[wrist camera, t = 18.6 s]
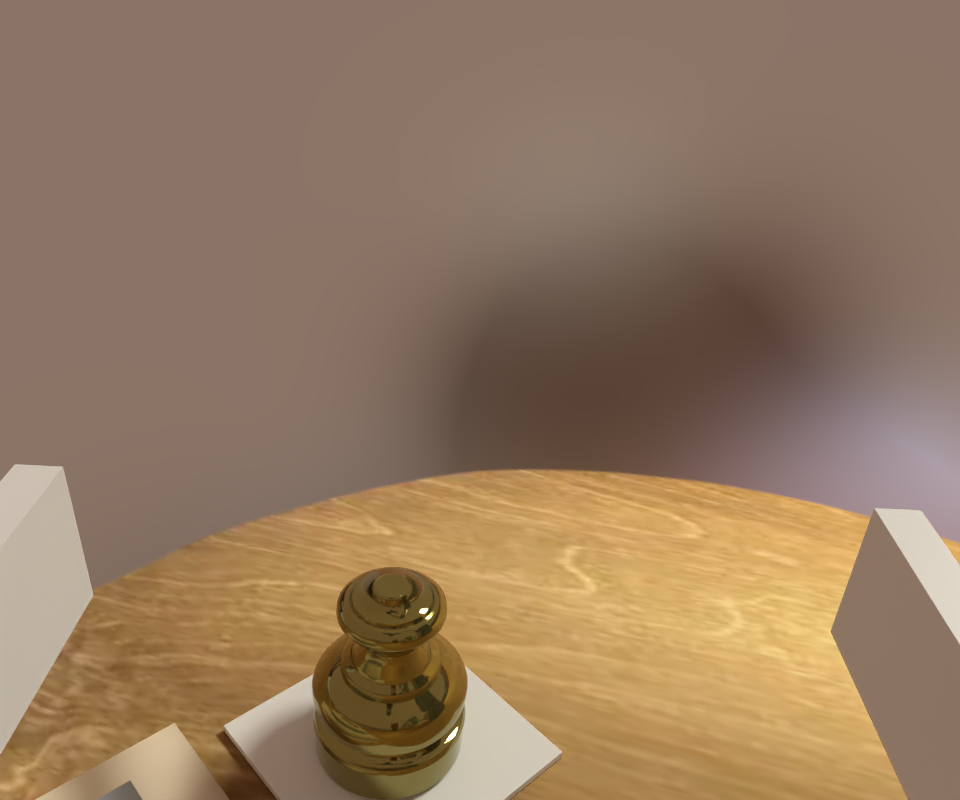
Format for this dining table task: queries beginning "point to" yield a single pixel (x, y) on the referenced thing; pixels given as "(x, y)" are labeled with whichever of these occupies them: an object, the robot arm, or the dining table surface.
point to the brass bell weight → (389, 688)
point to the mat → (457, 796)
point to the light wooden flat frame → (146, 774)
